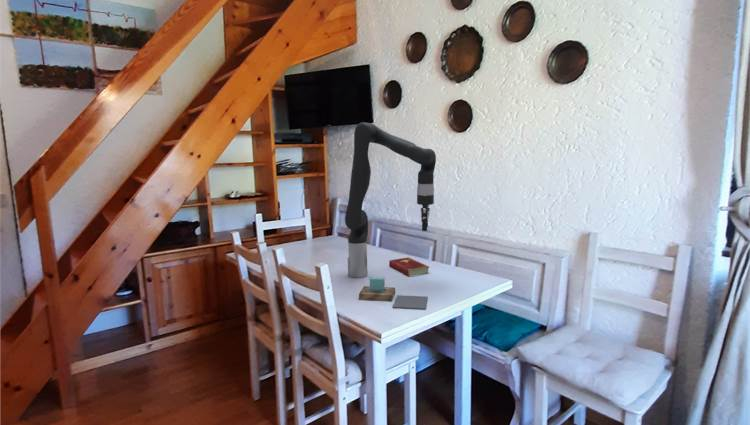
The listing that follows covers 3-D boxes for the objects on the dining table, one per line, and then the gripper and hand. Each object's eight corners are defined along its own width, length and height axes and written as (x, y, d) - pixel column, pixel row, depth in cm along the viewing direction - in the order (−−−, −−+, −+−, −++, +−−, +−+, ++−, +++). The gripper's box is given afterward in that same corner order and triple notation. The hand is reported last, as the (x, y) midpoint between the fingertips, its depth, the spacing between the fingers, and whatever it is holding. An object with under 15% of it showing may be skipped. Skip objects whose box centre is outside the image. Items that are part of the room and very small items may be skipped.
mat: (392, 308, 164) (392, 306, 164) (397, 296, 177) (397, 295, 177) (425, 309, 162) (425, 308, 161) (427, 297, 174) (427, 296, 174)
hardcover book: (408, 277, 203) (408, 269, 203) (389, 267, 222) (389, 259, 221) (429, 274, 208) (429, 266, 208) (408, 264, 227) (408, 256, 226)
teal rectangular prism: (370, 296, 177) (369, 278, 176) (371, 294, 180) (370, 277, 178) (383, 297, 176) (383, 279, 175) (384, 295, 178) (384, 277, 177)
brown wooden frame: (358, 299, 174) (358, 292, 174) (364, 291, 184) (363, 284, 184) (391, 301, 172) (391, 293, 171) (395, 292, 181) (395, 286, 181)
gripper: (418, 191, 193) (417, 225, 196) (415, 195, 179) (415, 232, 182) (434, 192, 192) (433, 226, 195) (433, 195, 178) (432, 232, 181)
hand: (424, 229), depth 188 cm, fingers open, 8 cm apart
